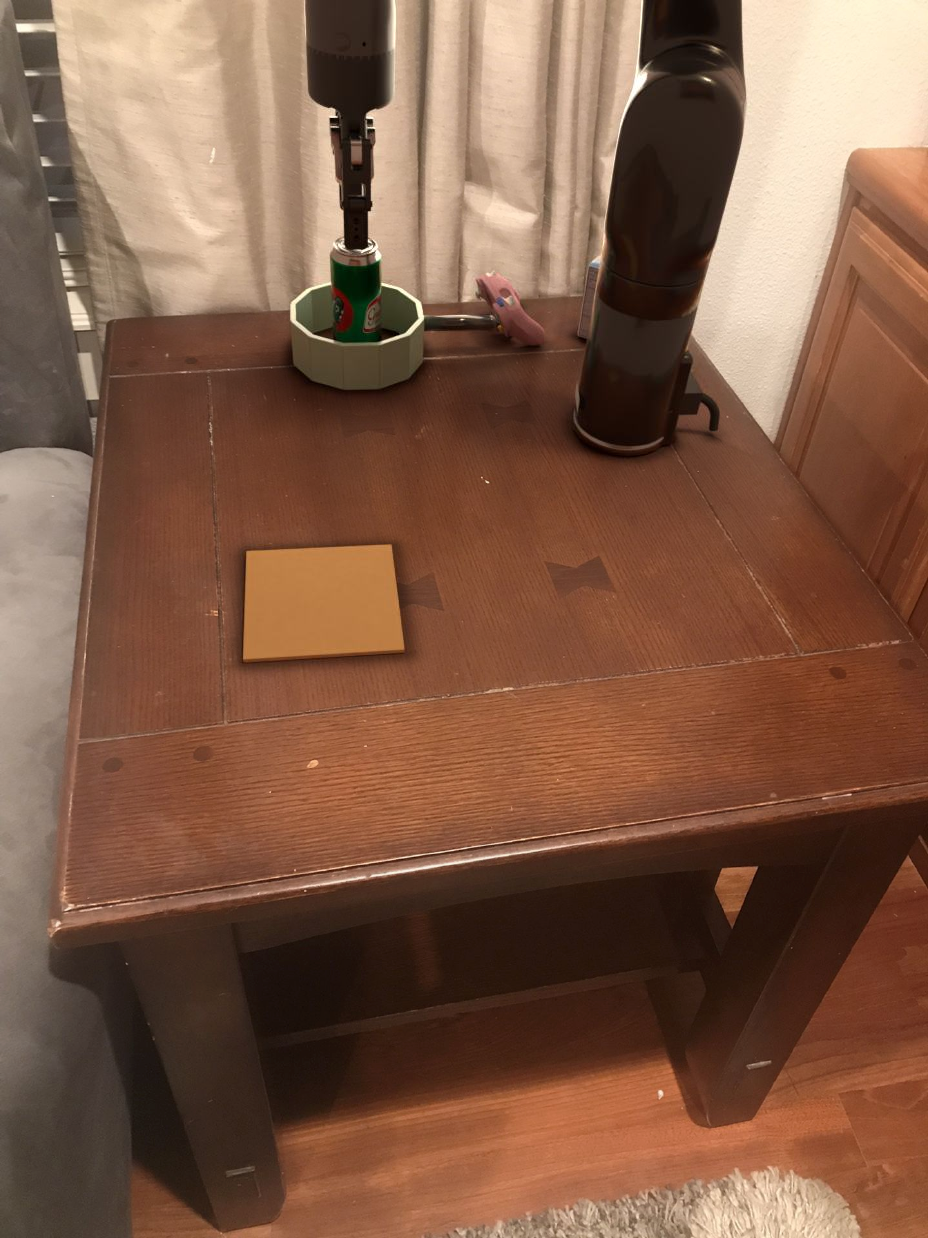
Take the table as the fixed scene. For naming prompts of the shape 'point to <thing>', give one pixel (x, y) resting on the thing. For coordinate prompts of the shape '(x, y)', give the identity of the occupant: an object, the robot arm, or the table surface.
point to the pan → (368, 360)
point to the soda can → (356, 293)
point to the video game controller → (508, 309)
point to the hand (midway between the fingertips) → (353, 227)
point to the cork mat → (321, 603)
